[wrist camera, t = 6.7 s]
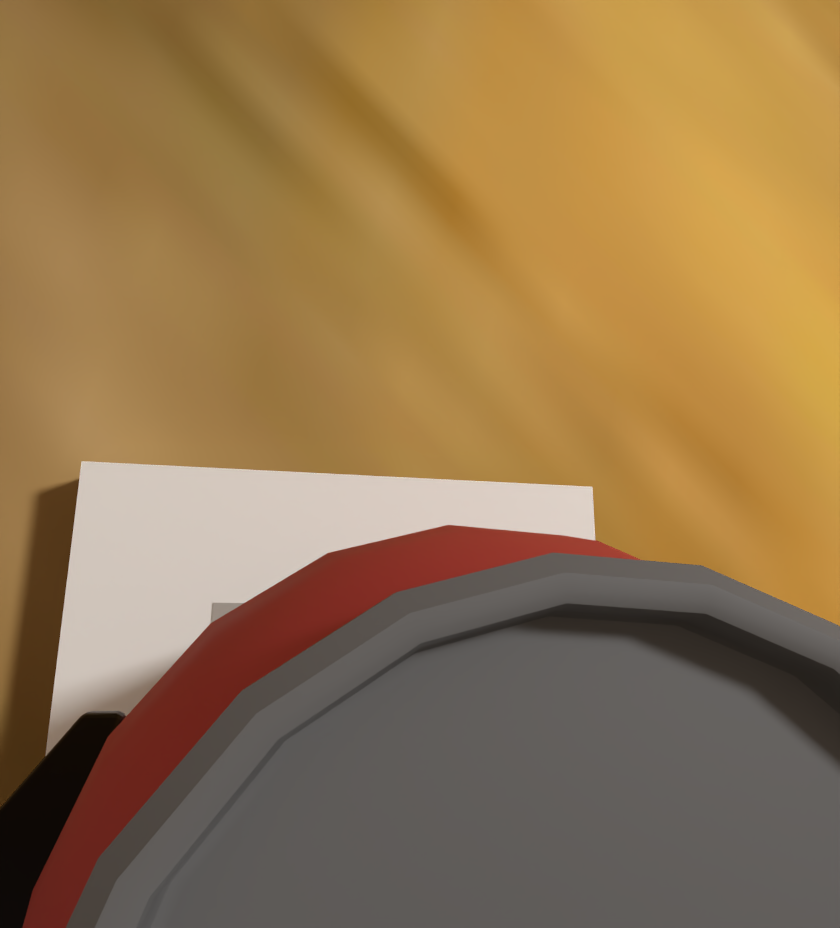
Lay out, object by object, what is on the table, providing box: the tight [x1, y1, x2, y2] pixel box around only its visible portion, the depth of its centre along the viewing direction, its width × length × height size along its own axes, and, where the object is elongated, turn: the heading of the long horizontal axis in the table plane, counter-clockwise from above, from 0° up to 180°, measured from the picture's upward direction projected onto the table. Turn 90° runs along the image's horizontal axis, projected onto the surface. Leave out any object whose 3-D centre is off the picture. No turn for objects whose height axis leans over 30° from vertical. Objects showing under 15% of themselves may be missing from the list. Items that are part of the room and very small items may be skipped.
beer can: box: [22, 525, 840, 928], centre depth 9 cm, size 7×7×12 cm
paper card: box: [45, 461, 595, 756], centre depth 16 cm, size 14×12×1 cm
